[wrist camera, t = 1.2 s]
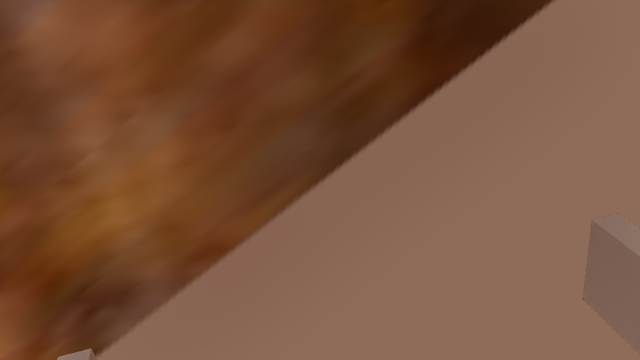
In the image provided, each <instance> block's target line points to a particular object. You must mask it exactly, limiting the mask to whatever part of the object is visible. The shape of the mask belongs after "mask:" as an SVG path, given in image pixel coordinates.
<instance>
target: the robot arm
mask: <svg viewBox="0 0 640 360" xmlns="http://www.w3.org/2000/svg"><path fill="white" fill-rule="evenodd" d="M589 241H590V242H589V249H588V258H587V267H586V276H585V285H584V294H583V300H585V301H586V302H587V303H588V304H589V305H590V306H591V307H592V308H593V309H594V310H595V311H596V312H597V313H598V314H599V315H600V316H601V317H602V318H603V319H604V320H605V321H606V322H607V323H608V324H609V325H610V326H611V327H612V328H613V329H614V330H615V331H616V332H617V333H618V334H619V335H620V336H621V337H622V338H623V339H624V340H625V341H626V342H627V343H628V344H629V345H630V346H631V347H632V348H633V349H634V350H635V351H636V352H637V353H638V354H639V355H640V228H638V227H637V226H635V225H634V224H633V223H631V222H630V221H628V220H627V219H625V218H624V217H622V216H621V215H620V214H618V213H617V214H613V215H609V216H605V217H601V218H597V219H593V220H592V224H591V232H590V240H589ZM57 360H97V359H96V357H95V355H94V353H93V351H92V349H88V350H84V351H80V352H76V353H72V354H68V355H64V356H60V357H58V359H57Z"/></svg>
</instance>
